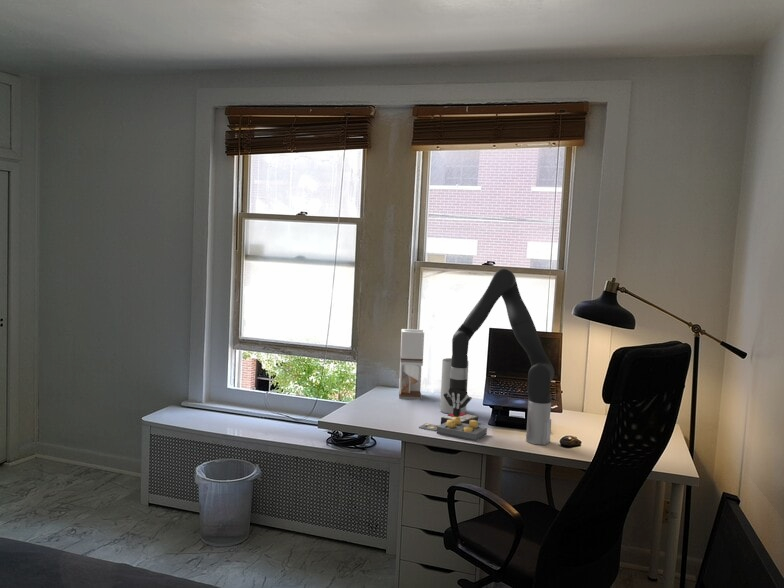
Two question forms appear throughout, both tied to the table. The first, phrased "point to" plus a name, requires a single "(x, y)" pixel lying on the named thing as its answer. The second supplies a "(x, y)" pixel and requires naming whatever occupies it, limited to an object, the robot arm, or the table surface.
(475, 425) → the button
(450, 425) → the button
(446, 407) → the cylinder vase
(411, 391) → the white square dispenser
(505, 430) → the table surface
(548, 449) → the table surface
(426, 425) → the card
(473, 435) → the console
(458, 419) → the button
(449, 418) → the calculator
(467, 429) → the button
